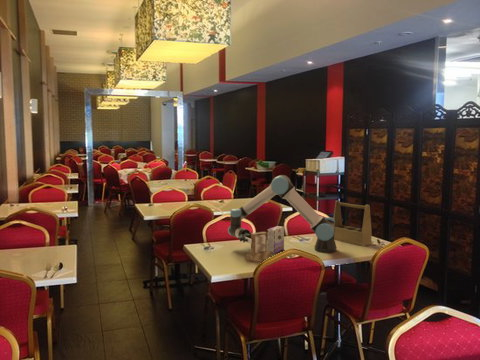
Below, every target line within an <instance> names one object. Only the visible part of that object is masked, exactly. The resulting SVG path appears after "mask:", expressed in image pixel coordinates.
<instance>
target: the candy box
mask: <svg viewBox="0 0 480 360" xmlns="http://www.w3.org/2000/svg"><path fill="white" fill-rule="evenodd" d="M266 233H267V236H269V241H267V252H269V251H272V255H274V254H275V255H276V254H277V253H279V252H281V251H284V250H285V227H284V226H278V225H276V226H274V227H270V228H268V229H267V231H266Z"/></svg>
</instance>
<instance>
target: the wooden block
mask: <svg viewBox="0 0 480 360" xmlns="http://www.w3.org/2000/svg"><path fill="white" fill-rule="evenodd" d="M250 233H251V239H252V243H250V254H251V255H252V256H253V254H256V253H263V252H267V231H259V232H250Z"/></svg>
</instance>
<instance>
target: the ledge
mask: <svg viewBox="0 0 480 360" xmlns="http://www.w3.org/2000/svg"><path fill="white" fill-rule="evenodd" d="M269 257H272V258H273V254H272V251H269V252H263V253H256V254H253V256H252V255H251V253H248V254H246V260H248V261H251V262H252V263H256V262H258V263H259V262H262V261H263V260H264V261H266V260H265V259H268V258H269Z"/></svg>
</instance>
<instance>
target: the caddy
mask: <svg viewBox="0 0 480 360" xmlns="http://www.w3.org/2000/svg"><path fill="white" fill-rule="evenodd" d="M342 207H345V208H353V209H360V210H364V211H363V218H362V225H361V226H362V227H361V228H359V227H358V228H357V227H353V226H347V225H344V224H343V218H342V209H341V208H342ZM332 218H334V219H335V228H334V240H335V241H340V242H344V243H348V244H351V245H356V246H361V247H365V246H369V245H372V231H373V230H372V218H371V207H370V204H365V205H361V204H354V203H353V204H352V203H347V202H341V201H340V200H335V204H334V211H333V217H332Z"/></svg>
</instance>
